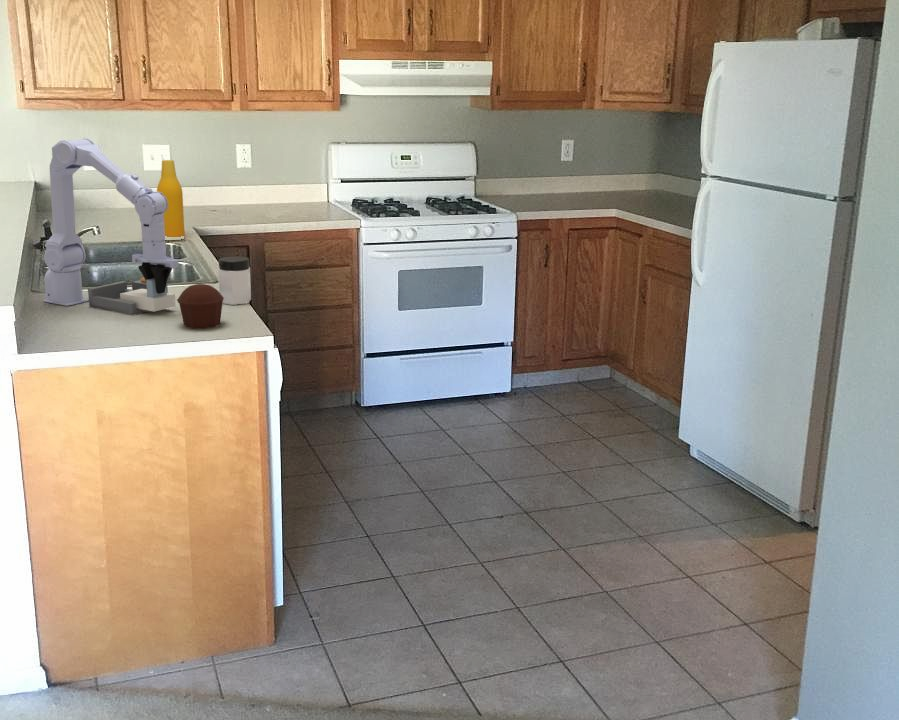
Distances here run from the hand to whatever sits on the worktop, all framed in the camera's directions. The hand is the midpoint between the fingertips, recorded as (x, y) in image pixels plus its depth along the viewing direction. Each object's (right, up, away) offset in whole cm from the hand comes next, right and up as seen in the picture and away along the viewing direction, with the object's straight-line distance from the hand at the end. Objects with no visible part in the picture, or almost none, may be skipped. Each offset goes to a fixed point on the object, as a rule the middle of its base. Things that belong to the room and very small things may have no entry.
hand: (157, 292), depth 254 cm
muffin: (+14, -9, -9) cm, 19 cm away
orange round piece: (-7, +1, +15) cm, 17 cm away
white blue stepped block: (-3, -3, +3) cm, 5 cm away
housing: (-8, -3, +10) cm, 13 cm away
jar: (+17, -2, +16) cm, 23 cm away
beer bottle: (-28, +28, +111) cm, 118 cm away
